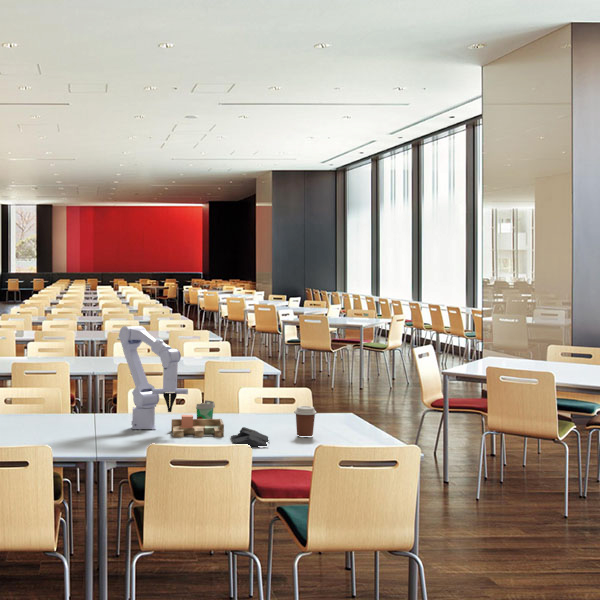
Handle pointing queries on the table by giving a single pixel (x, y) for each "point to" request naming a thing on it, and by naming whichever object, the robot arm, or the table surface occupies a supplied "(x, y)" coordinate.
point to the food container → (205, 410)
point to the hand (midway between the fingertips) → (169, 411)
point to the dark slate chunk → (250, 438)
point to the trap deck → (199, 428)
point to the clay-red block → (187, 421)
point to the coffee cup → (305, 420)
